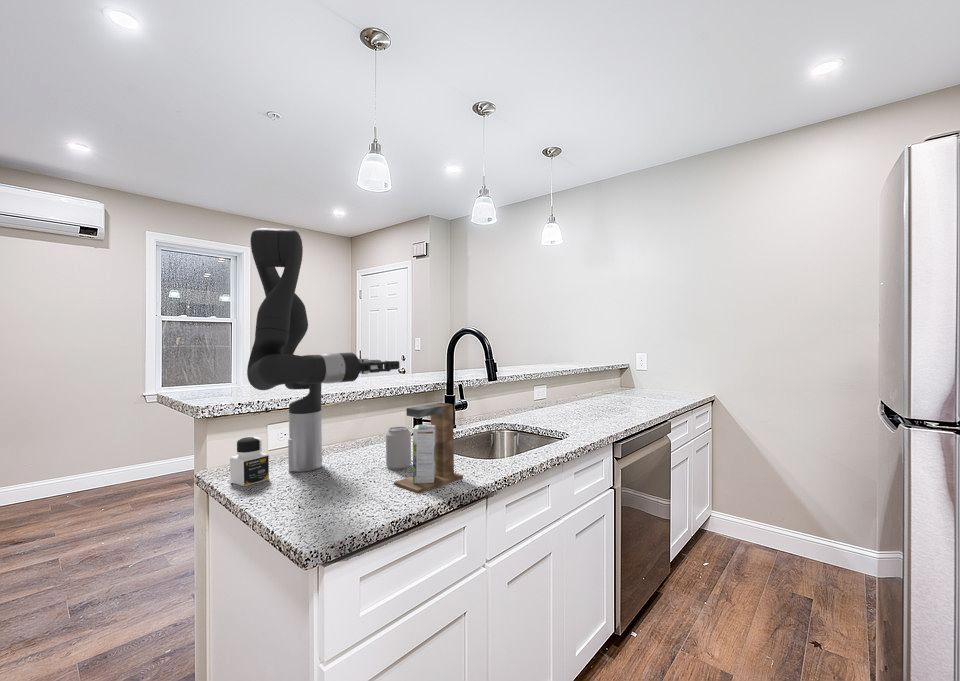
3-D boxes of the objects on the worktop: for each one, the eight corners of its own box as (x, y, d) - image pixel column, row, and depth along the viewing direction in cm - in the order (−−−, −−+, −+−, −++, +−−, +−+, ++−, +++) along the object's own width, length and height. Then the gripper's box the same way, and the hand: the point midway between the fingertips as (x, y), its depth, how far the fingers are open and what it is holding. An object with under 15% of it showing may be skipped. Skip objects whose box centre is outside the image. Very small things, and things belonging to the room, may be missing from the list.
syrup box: (414, 477, 119) (414, 424, 119) (436, 476, 120) (435, 424, 120) (412, 484, 114) (411, 429, 114) (435, 483, 114) (434, 428, 114)
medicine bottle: (244, 487, 115) (243, 442, 115) (229, 482, 119) (229, 439, 119) (269, 479, 122) (268, 436, 121) (254, 475, 125) (254, 434, 125)
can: (405, 471, 127) (405, 430, 127) (382, 470, 129) (381, 430, 129) (414, 464, 135) (414, 425, 135) (392, 463, 136) (391, 425, 136)
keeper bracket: (418, 493, 109) (417, 412, 109) (394, 484, 116) (393, 408, 116) (462, 477, 121) (461, 404, 121) (438, 470, 127) (437, 401, 127)
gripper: (351, 353, 104) (405, 351, 116) (322, 352, 114) (374, 350, 126) (351, 384, 104) (405, 379, 116) (322, 381, 114) (375, 376, 126)
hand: (389, 364), depth 121 cm, fingers open, 8 cm apart
